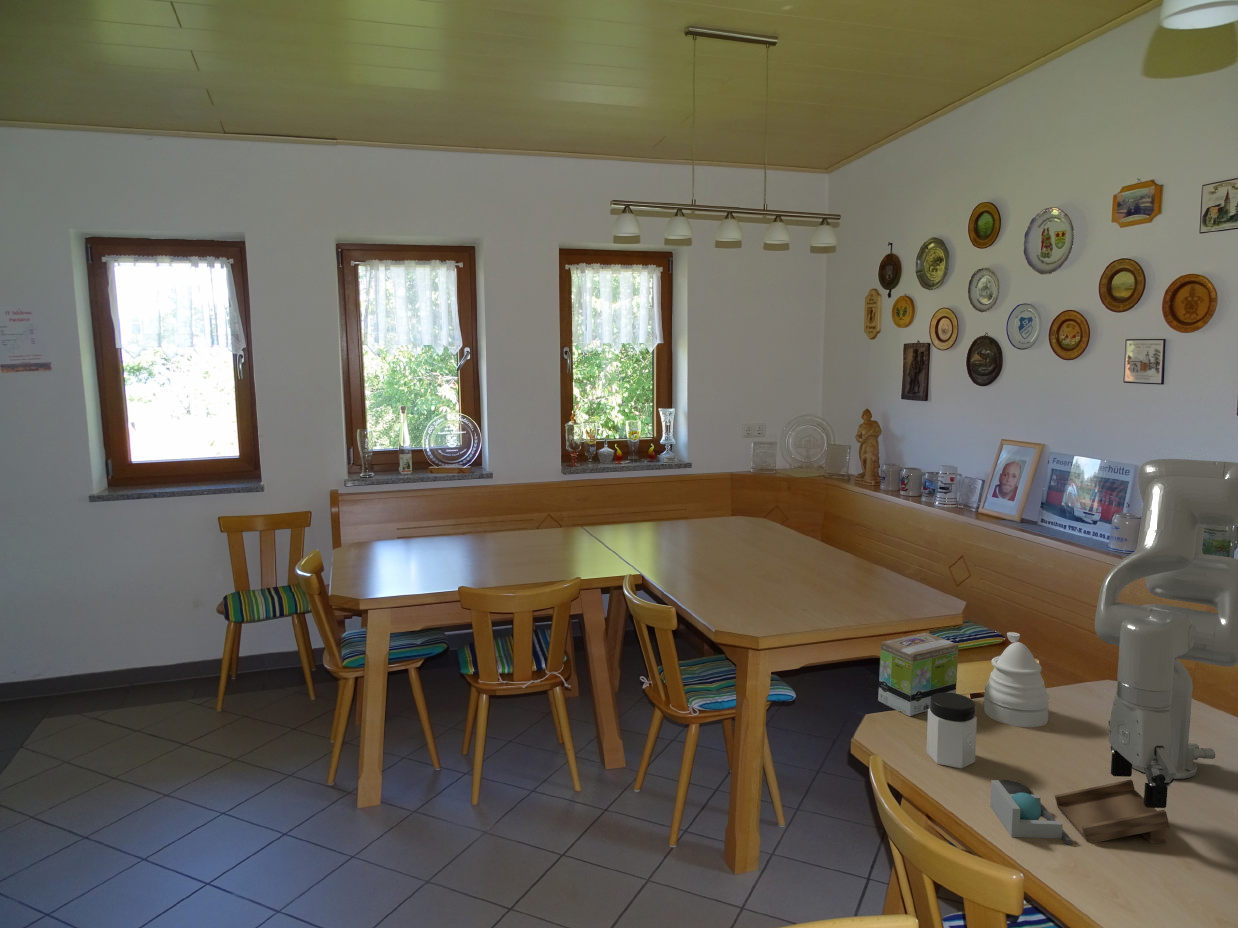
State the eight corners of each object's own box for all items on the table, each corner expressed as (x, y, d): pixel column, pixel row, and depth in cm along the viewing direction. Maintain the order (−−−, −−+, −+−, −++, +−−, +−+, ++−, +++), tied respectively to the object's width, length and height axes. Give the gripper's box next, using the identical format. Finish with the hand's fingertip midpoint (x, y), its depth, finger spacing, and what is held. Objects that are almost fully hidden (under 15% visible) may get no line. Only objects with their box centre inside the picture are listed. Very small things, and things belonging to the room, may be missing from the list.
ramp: (1133, 811, 135) (1135, 779, 134) (1168, 846, 125) (1170, 811, 124) (1053, 809, 136) (1055, 777, 135) (1082, 843, 126) (1084, 808, 125)
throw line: (1038, 803, 137) (1038, 799, 137) (1071, 844, 125) (1071, 839, 125) (1033, 803, 137) (1033, 799, 137) (1066, 843, 125) (1066, 839, 125)
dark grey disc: (1022, 782, 144) (1022, 780, 144) (1037, 801, 138) (1037, 798, 138) (987, 781, 145) (987, 779, 145) (1000, 799, 139) (1000, 797, 139)
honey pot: (972, 703, 179) (975, 628, 176) (1024, 700, 180) (1027, 626, 178) (1005, 729, 166) (1009, 648, 164) (1061, 725, 167) (1065, 645, 165)
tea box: (911, 718, 172) (913, 654, 170) (877, 701, 181) (878, 640, 179) (957, 704, 179) (959, 642, 177) (922, 688, 187) (924, 630, 186)
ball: (1032, 813, 134) (1002, 812, 134) (1033, 787, 133) (1004, 786, 134) (1045, 831, 129) (1014, 830, 130) (1047, 803, 128) (1016, 802, 129)
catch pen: (1037, 807, 136) (1038, 781, 135) (1061, 838, 127) (1063, 809, 126) (990, 806, 137) (991, 779, 136) (1011, 836, 128) (1012, 808, 127)
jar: (955, 772, 148) (958, 713, 147) (918, 755, 155) (920, 698, 153) (982, 759, 153) (985, 701, 152) (945, 743, 160) (947, 688, 158)
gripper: (1092, 672, 136) (1087, 764, 138) (1150, 715, 119) (1143, 819, 121) (1137, 673, 136) (1131, 765, 138) (1202, 716, 119) (1194, 821, 121)
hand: (1137, 790), depth 129 cm, fingers open, 9 cm apart
